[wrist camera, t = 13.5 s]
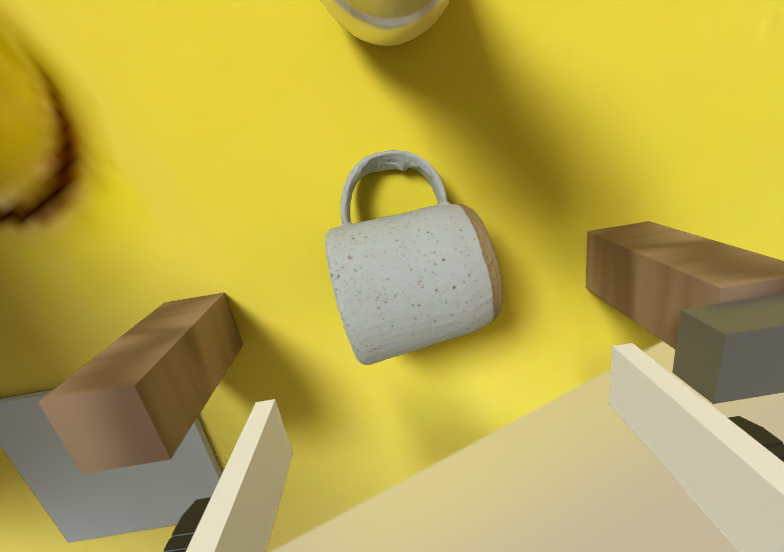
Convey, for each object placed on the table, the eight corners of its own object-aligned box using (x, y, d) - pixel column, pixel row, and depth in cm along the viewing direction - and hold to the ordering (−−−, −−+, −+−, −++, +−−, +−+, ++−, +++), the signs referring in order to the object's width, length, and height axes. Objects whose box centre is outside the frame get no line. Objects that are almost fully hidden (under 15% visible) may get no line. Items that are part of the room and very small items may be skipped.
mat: (73, 535, 31) (68, 542, 30) (-19, 401, 26) (-27, 407, 25) (237, 508, 31) (235, 515, 30) (176, 368, 26) (172, 374, 25)
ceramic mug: (479, 293, 25) (523, 353, 18) (364, 325, 25) (360, 396, 18) (445, 132, 21) (481, 125, 14) (312, 172, 22) (281, 184, 15)
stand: (185, 354, 25) (82, 474, 16) (164, 302, 24) (37, 402, 15) (643, 278, 25) (796, 356, 16) (648, 221, 24) (819, 271, 15)
